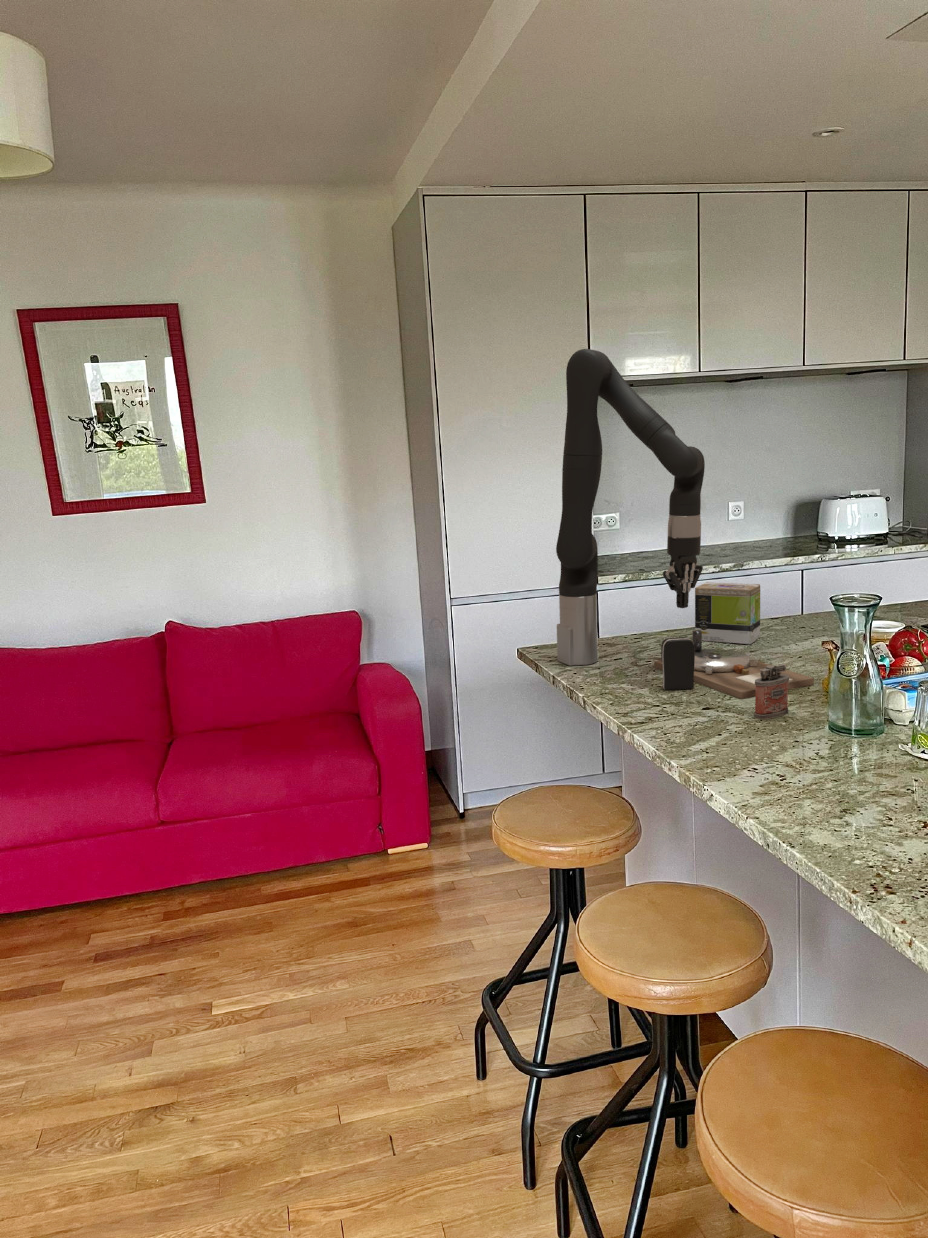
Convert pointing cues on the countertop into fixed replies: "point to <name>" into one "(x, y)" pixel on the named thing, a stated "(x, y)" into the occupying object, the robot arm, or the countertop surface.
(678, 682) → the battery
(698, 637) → the sprocket
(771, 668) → the lighter
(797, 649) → the countertop surface
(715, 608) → the tea box
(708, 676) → the board
